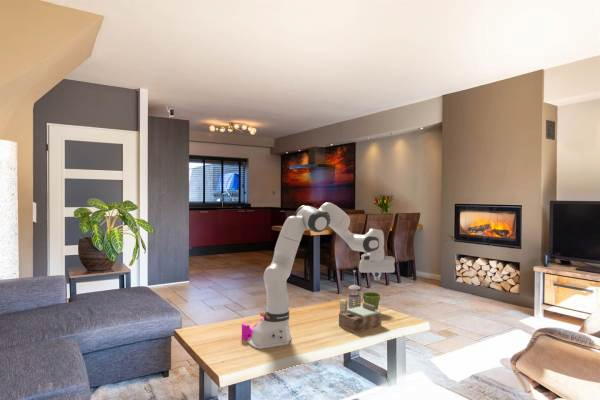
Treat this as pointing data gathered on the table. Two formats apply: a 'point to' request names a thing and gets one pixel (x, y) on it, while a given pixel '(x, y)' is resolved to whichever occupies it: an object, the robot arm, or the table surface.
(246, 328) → the toy block
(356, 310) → the lid
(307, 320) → the table surface
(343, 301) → the wooden block
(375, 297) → the plant pot
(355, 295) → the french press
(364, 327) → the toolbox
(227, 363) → the table surface
